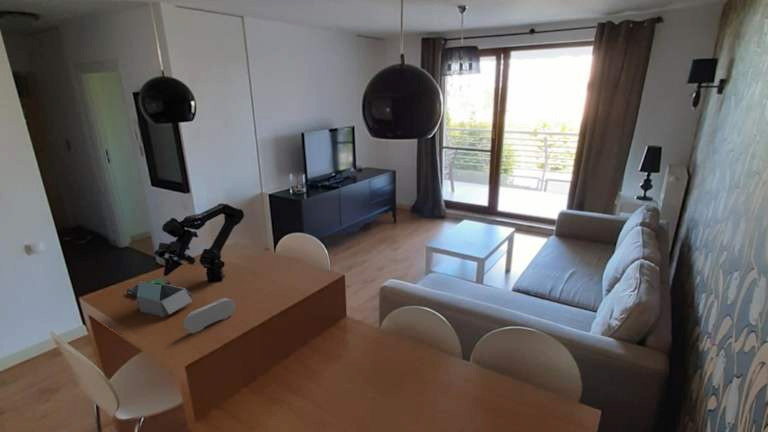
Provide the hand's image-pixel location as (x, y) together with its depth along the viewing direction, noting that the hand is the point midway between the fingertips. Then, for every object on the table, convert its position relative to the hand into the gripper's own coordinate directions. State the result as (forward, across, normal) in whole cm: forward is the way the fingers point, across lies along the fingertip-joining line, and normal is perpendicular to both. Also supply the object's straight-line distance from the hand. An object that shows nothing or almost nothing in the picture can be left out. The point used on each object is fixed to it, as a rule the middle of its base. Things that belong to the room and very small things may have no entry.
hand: (164, 275), depth 164 cm
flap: (+8, 0, -3) cm, 8 cm away
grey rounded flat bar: (+14, +30, +6) cm, 33 cm away
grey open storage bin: (+10, 0, +9) cm, 13 cm away
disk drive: (+6, -22, +14) cm, 27 cm away
